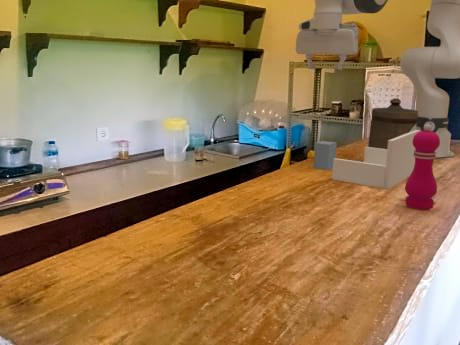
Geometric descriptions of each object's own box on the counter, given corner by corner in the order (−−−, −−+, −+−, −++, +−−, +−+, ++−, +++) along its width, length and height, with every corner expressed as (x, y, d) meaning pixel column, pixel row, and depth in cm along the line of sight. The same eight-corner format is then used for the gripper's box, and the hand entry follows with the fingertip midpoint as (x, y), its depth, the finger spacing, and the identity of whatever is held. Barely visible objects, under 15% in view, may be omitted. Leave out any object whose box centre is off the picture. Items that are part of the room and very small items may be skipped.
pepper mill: (401, 207, 115) (409, 124, 110) (405, 199, 121) (413, 121, 116) (433, 212, 112) (443, 127, 107) (436, 204, 118) (446, 123, 113)
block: (320, 168, 154) (322, 140, 152) (334, 170, 152) (336, 142, 149) (313, 170, 151) (314, 142, 148) (327, 173, 148) (329, 144, 146)
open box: (364, 167, 156) (368, 125, 152) (415, 175, 146) (420, 130, 143) (331, 182, 137) (334, 134, 133) (387, 192, 127) (392, 140, 124)
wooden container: (419, 168, 156) (426, 100, 151) (373, 167, 157) (379, 99, 151) (403, 158, 171) (410, 96, 165) (362, 158, 171) (367, 96, 166)
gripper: (363, 23, 145) (359, 70, 148) (303, 25, 157) (301, 68, 160) (355, 22, 140) (351, 70, 144) (294, 24, 152) (292, 68, 156)
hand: (324, 69), depth 152 cm, fingers open, 8 cm apart
